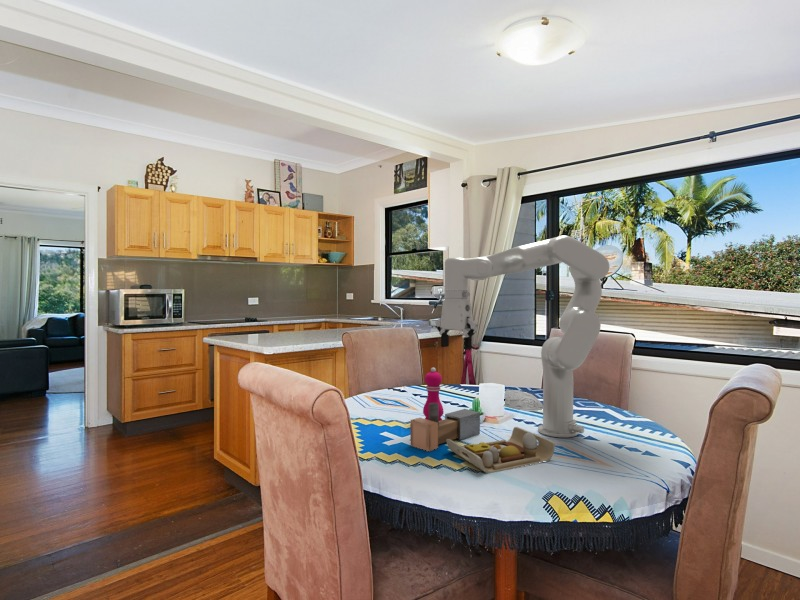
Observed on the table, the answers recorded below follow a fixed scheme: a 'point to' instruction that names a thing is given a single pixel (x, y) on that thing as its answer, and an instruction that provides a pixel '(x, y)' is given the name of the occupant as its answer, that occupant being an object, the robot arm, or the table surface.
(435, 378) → the pepper mill
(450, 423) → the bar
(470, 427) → the sleeve
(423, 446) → the brown block
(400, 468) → the table surface
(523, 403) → the grey carved stone
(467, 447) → the toy food set
